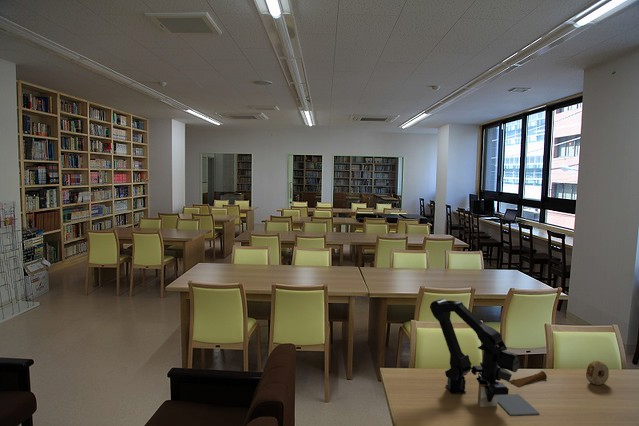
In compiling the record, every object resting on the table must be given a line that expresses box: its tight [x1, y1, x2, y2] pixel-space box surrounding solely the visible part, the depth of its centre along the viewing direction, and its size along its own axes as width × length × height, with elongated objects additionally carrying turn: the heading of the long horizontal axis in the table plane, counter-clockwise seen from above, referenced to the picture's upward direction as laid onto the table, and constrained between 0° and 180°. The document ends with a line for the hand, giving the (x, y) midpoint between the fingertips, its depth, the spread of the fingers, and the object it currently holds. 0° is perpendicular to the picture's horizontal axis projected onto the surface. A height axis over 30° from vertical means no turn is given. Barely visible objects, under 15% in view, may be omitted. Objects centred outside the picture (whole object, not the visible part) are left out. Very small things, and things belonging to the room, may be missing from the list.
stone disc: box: [585, 360, 610, 386], centre depth 185 cm, size 10×4×10 cm, turn 104°
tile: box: [477, 383, 499, 408], centre depth 166 cm, size 7×2×8 cm, turn 96°
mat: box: [497, 393, 541, 417], centre depth 166 cm, size 12×14×1 cm
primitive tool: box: [508, 370, 548, 388], centre depth 187 cm, size 19×6×4 cm, turn 115°
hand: (487, 399), depth 166 cm, fingers closed on tile, 2 cm apart
